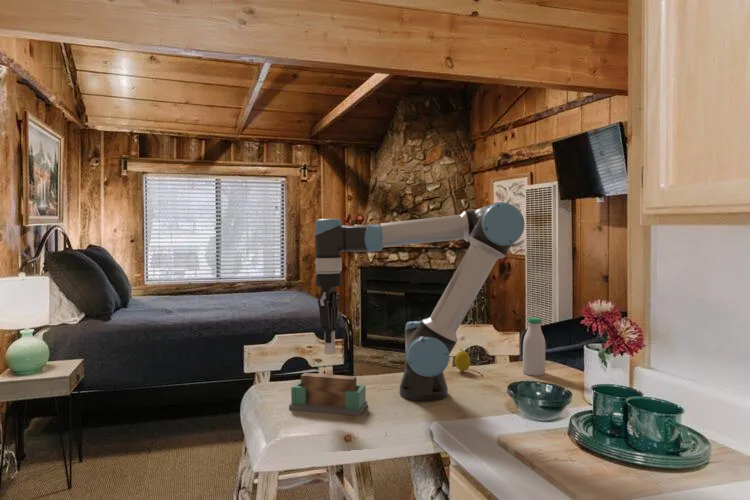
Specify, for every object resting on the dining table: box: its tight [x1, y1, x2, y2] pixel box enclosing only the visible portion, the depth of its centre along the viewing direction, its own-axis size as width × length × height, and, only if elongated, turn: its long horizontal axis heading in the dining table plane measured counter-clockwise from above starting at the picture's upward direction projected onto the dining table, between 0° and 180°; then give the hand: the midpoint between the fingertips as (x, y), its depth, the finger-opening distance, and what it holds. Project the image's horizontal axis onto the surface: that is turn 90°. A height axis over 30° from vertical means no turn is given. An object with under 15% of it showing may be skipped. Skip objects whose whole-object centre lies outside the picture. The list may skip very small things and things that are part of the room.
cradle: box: [288, 379, 368, 417], centre depth 154 cm, size 21×9×6 cm, turn 76°
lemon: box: [454, 349, 471, 373], centre depth 191 cm, size 6×6×8 cm
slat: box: [300, 372, 357, 406], centre depth 154 cm, size 16×3×8 cm, turn 76°
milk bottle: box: [522, 316, 546, 377], centre depth 190 cm, size 8×8×20 cm
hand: (329, 353), depth 153 cm, fingers closed
